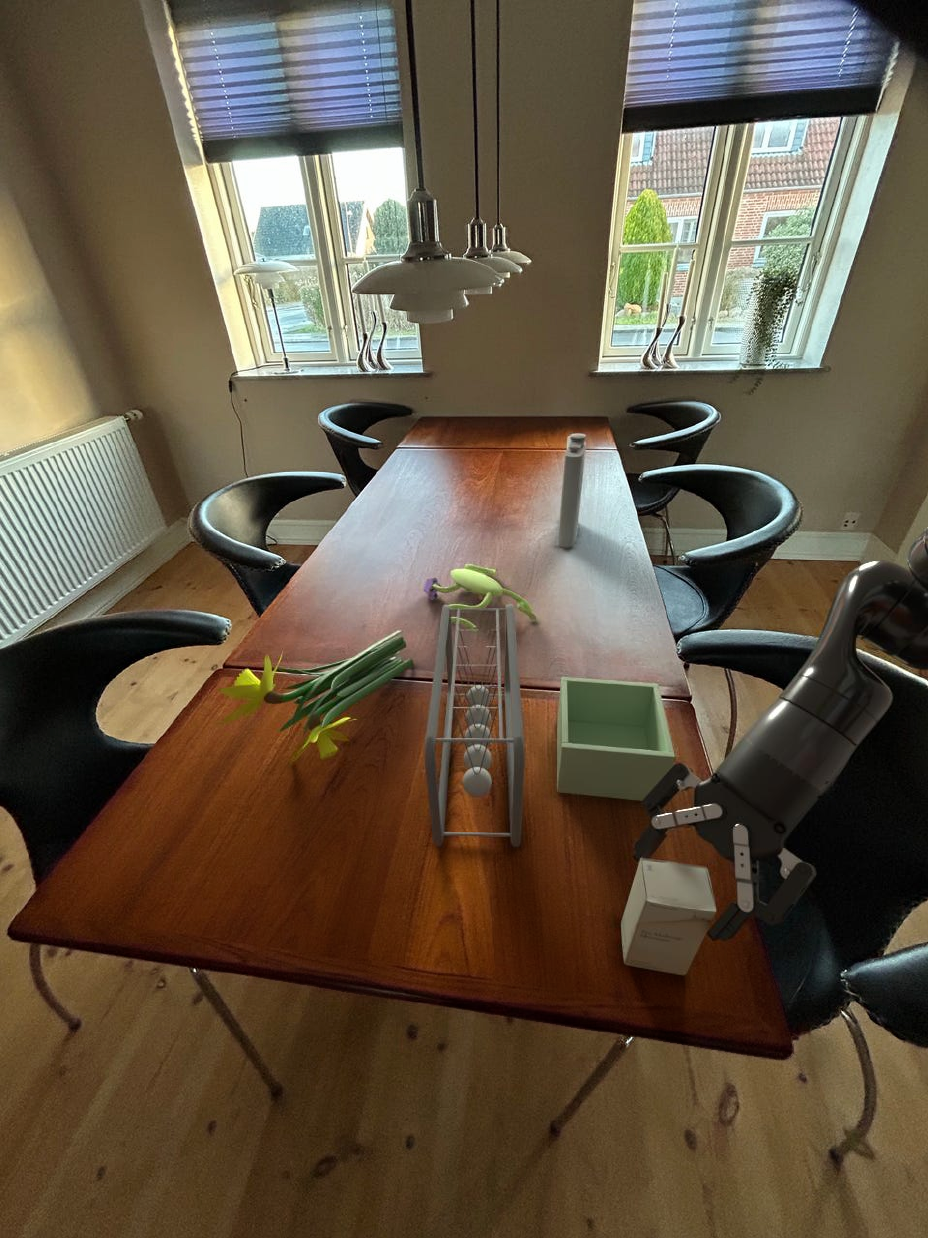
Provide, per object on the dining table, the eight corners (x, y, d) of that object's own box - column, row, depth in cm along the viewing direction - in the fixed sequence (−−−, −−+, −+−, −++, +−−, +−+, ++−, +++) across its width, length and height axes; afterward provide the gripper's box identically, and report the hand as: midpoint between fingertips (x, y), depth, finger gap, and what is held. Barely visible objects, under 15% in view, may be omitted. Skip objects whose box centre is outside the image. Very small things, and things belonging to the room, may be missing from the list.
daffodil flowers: (451, 682, 91) (307, 793, 62) (389, 700, 99) (235, 806, 69) (412, 592, 90) (246, 661, 60) (352, 618, 98) (180, 690, 68)
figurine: (453, 651, 97) (452, 626, 94) (413, 583, 118) (411, 561, 115) (543, 629, 102) (545, 605, 99) (490, 568, 123) (490, 546, 120)
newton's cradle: (448, 688, 89) (442, 598, 79) (510, 688, 88) (513, 598, 78) (433, 854, 64) (422, 753, 54) (520, 855, 64) (525, 754, 54)
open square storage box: (662, 803, 69) (675, 757, 64) (557, 792, 71) (562, 747, 66) (648, 727, 80) (658, 683, 75) (557, 720, 82) (561, 676, 77)
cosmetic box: (623, 966, 53) (642, 902, 47) (620, 921, 57) (637, 856, 50) (688, 977, 52) (718, 914, 46) (681, 930, 56) (707, 865, 49)
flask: (575, 548, 130) (586, 445, 116) (557, 546, 131) (565, 444, 117) (578, 519, 144) (587, 425, 130) (561, 518, 145) (568, 424, 131)
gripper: (703, 705, 50) (601, 836, 52) (863, 814, 40) (729, 972, 42) (725, 723, 56) (631, 841, 57) (870, 823, 46) (752, 963, 47)
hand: (673, 897), depth 50 cm, fingers open, 8 cm apart
